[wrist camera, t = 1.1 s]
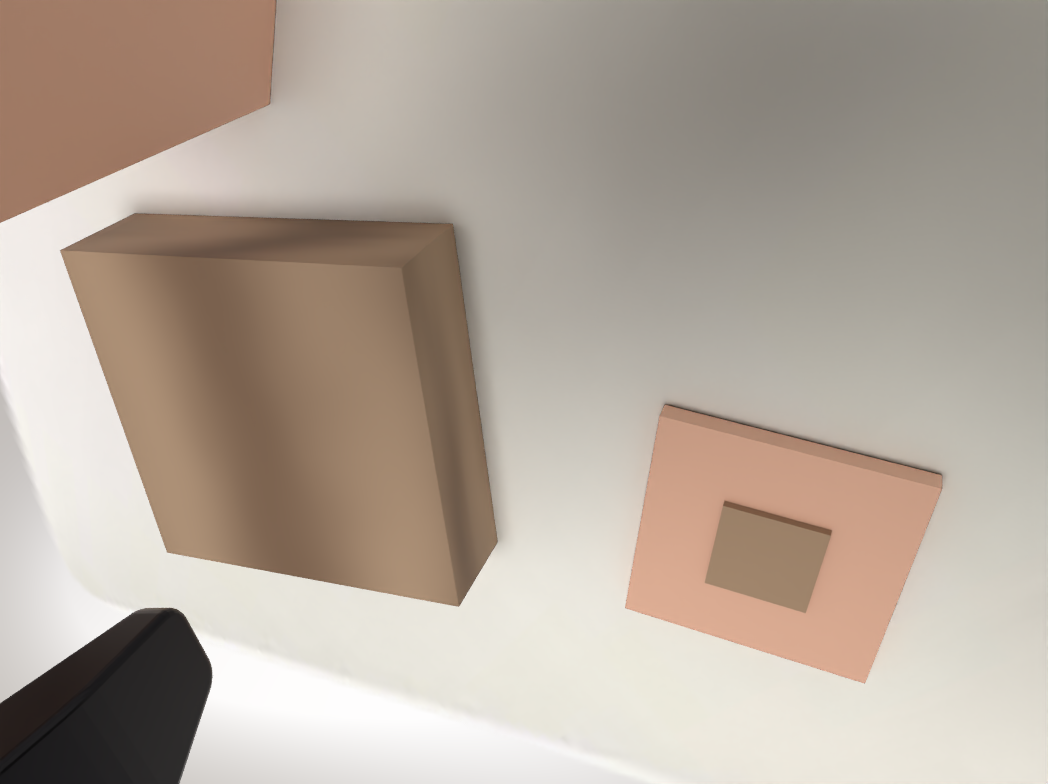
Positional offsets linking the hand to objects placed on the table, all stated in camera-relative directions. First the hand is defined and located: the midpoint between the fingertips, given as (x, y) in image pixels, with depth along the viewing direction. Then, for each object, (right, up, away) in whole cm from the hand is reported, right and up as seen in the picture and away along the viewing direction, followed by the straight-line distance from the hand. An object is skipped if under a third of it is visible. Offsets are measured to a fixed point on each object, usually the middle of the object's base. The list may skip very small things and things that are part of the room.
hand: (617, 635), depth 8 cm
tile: (+5, -1, +14) cm, 15 cm away
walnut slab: (-6, +3, +17) cm, 18 cm away
